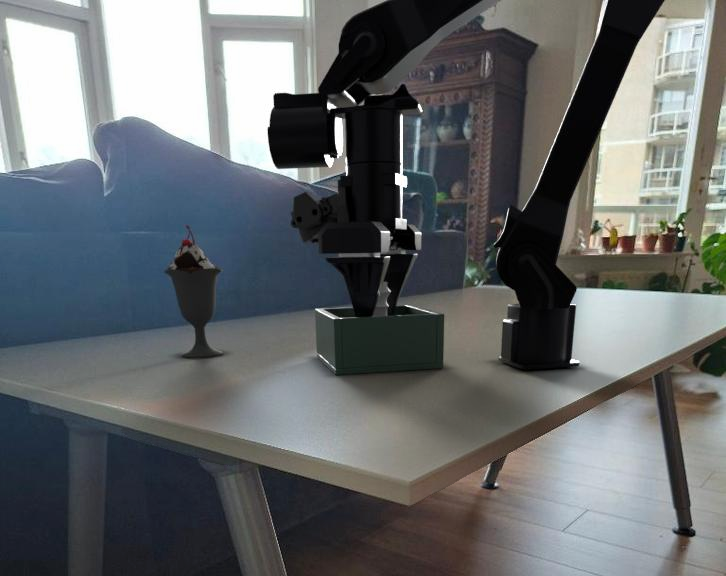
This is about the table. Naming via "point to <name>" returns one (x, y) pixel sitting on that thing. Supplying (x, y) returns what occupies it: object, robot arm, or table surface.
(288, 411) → the table surface
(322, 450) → the table surface
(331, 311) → the bin
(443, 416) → the table surface
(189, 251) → the sundae
